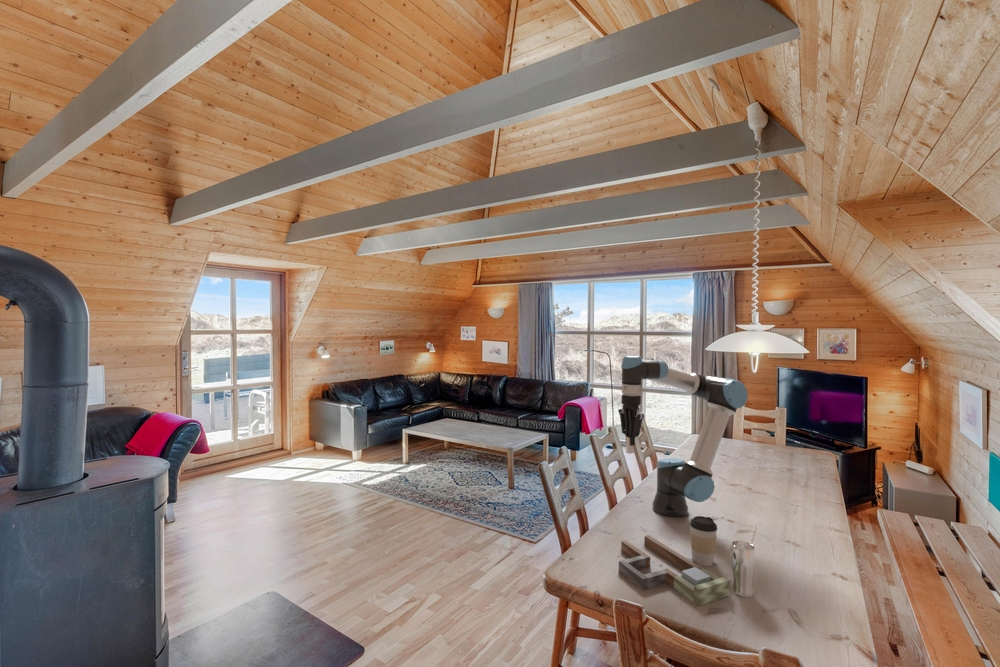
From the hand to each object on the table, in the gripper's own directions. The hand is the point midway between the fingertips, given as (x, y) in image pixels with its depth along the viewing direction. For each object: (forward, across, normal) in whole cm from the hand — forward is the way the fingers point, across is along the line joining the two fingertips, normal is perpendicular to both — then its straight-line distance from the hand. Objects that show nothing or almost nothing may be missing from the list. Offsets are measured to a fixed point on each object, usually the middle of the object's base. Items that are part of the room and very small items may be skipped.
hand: (630, 452), depth 185 cm
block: (+33, +40, -6) cm, 52 cm away
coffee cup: (+33, +28, +10) cm, 44 cm away
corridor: (+32, +29, -11) cm, 45 cm away
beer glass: (+33, +47, +6) cm, 58 cm away
